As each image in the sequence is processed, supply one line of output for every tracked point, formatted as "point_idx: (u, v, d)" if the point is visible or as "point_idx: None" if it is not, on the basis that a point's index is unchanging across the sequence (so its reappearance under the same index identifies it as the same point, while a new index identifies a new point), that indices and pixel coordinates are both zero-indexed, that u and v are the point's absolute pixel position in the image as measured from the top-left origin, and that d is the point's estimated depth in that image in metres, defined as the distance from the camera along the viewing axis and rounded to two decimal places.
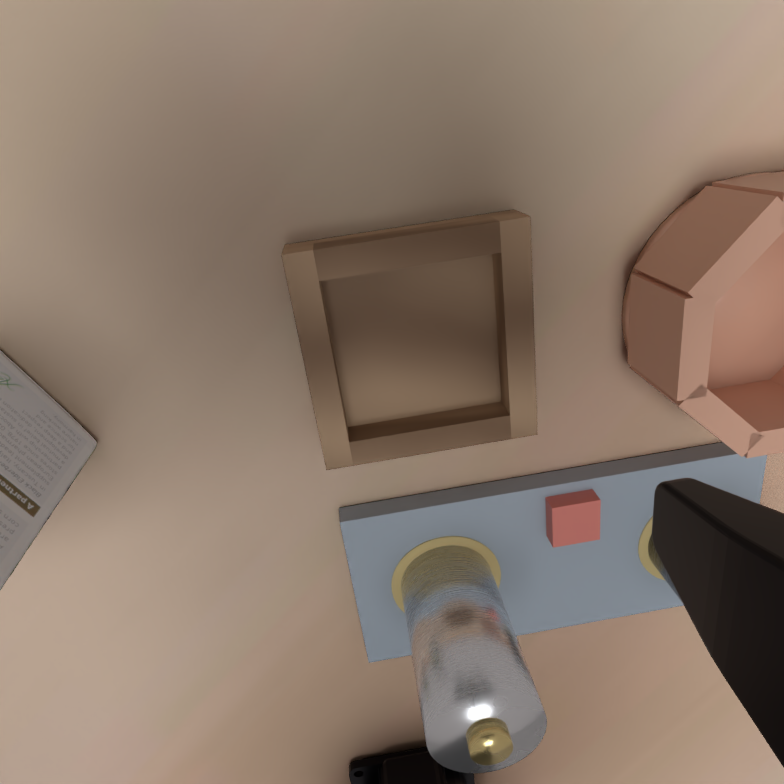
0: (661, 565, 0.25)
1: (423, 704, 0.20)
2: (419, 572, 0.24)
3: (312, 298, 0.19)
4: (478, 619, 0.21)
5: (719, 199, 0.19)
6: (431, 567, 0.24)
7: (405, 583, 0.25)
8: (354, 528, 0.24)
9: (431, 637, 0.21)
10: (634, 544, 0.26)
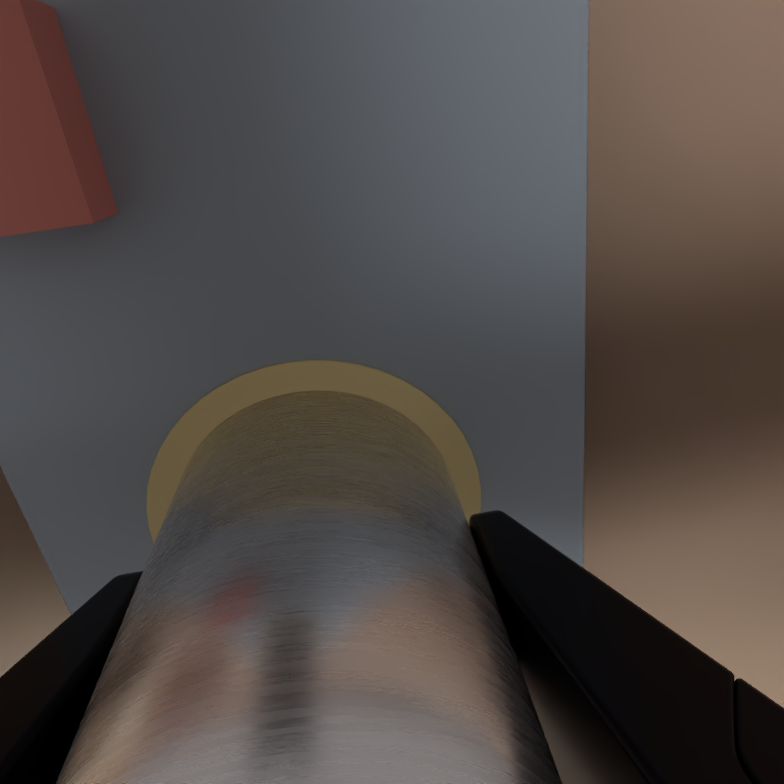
0: None
1: None
2: None
3: None
4: None
5: None
6: None
7: None
8: None
9: None
10: None
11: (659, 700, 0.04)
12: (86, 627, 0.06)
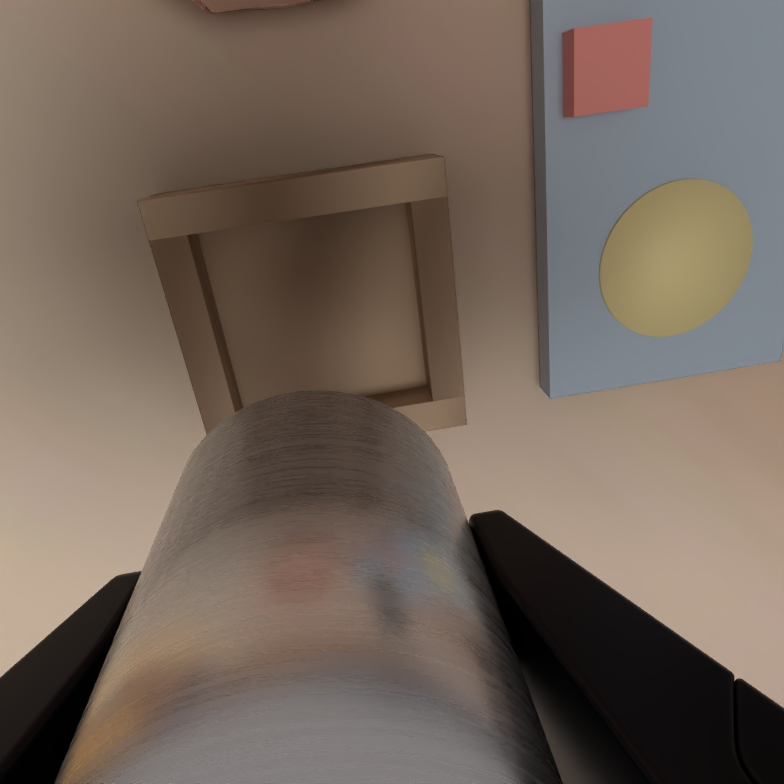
0: None
1: None
2: None
3: None
4: None
5: None
6: None
7: None
8: (562, 382, 0.19)
9: None
10: None
11: (659, 700, 0.04)
12: (86, 627, 0.06)
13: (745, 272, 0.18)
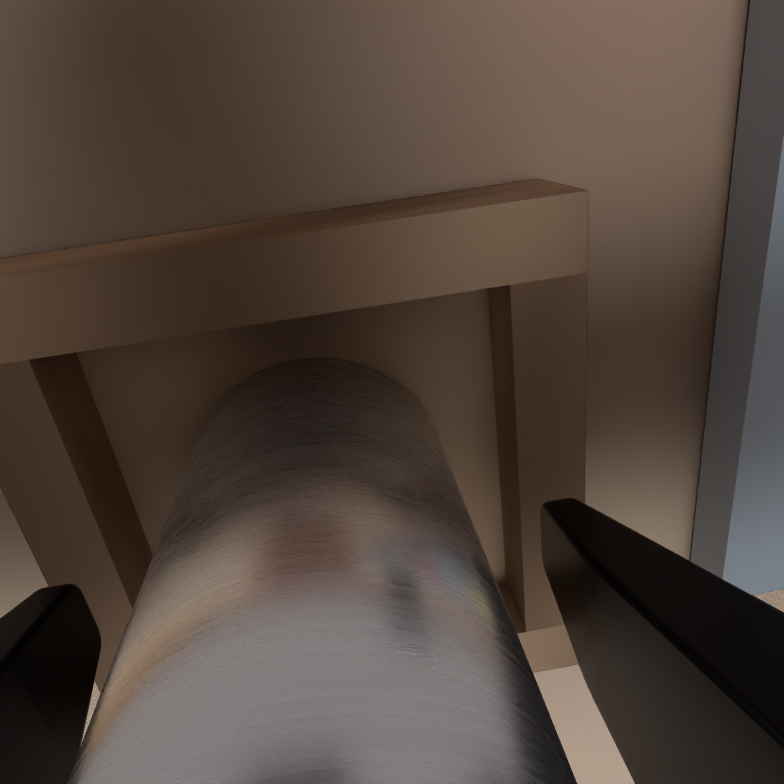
0: None
1: None
2: None
3: None
4: None
5: None
6: None
7: None
8: (744, 575, 0.11)
9: None
10: None
11: None
12: None
13: None
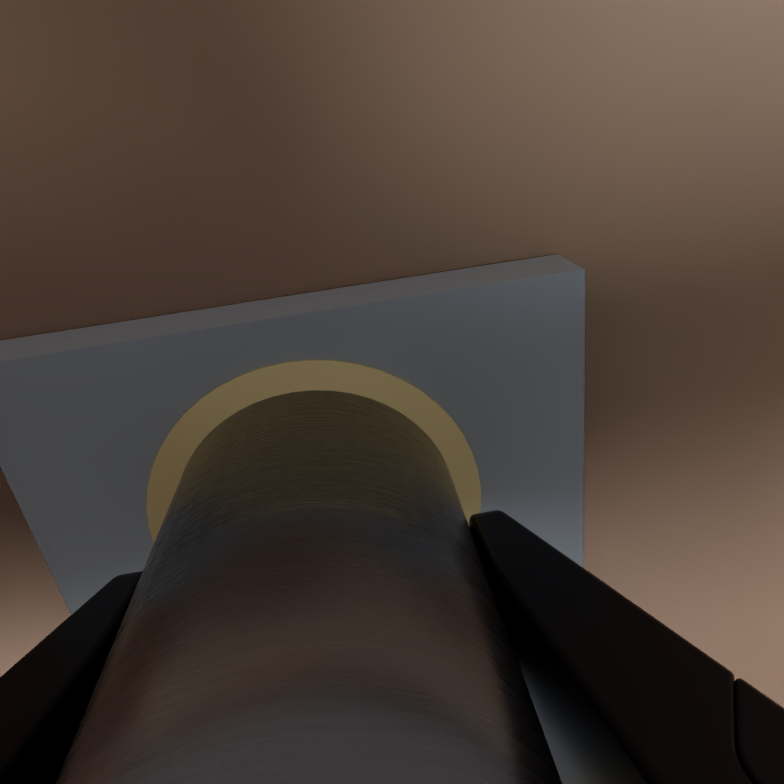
0: None
1: None
2: None
3: None
4: None
5: None
6: None
7: None
8: None
9: None
10: None
11: (659, 700, 0.04)
12: (86, 627, 0.06)
13: None
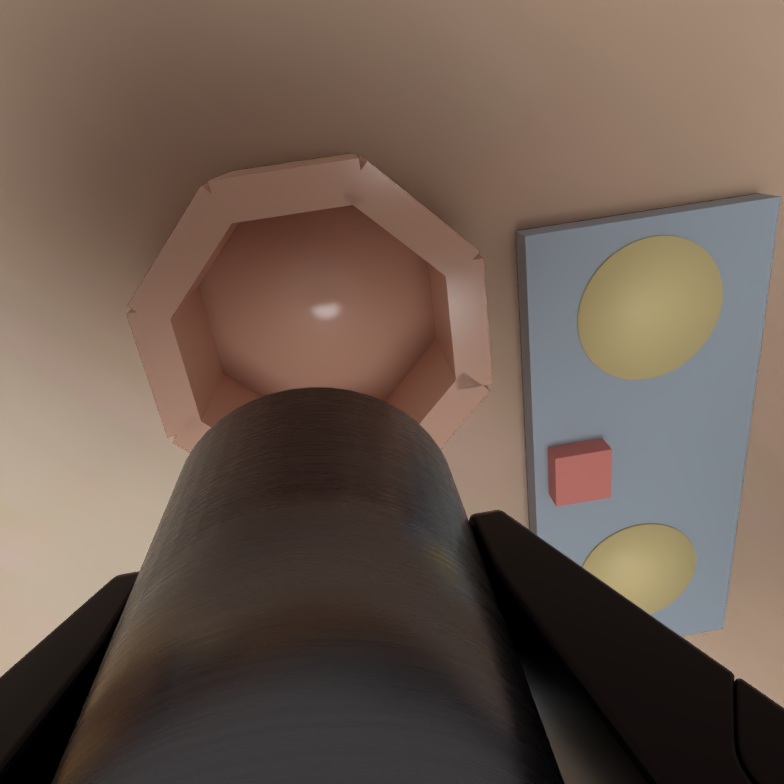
0: None
1: None
2: None
3: None
4: None
5: None
6: None
7: None
8: None
9: None
10: (640, 383, 0.20)
11: (659, 700, 0.04)
12: (86, 627, 0.06)
13: (691, 576, 0.24)
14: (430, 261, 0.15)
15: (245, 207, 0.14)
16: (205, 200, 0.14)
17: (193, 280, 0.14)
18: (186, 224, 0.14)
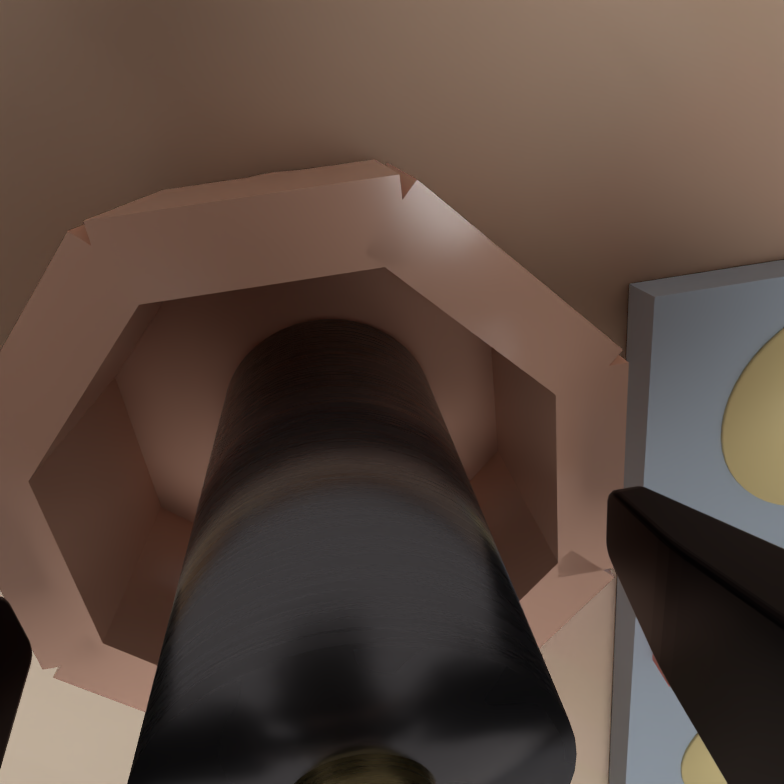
0: None
1: None
2: None
3: None
4: None
5: None
6: None
7: None
8: None
9: None
10: None
11: None
12: None
13: None
14: (529, 369, 0.08)
15: (165, 273, 0.07)
16: (80, 259, 0.07)
17: (68, 412, 0.07)
18: (44, 307, 0.07)
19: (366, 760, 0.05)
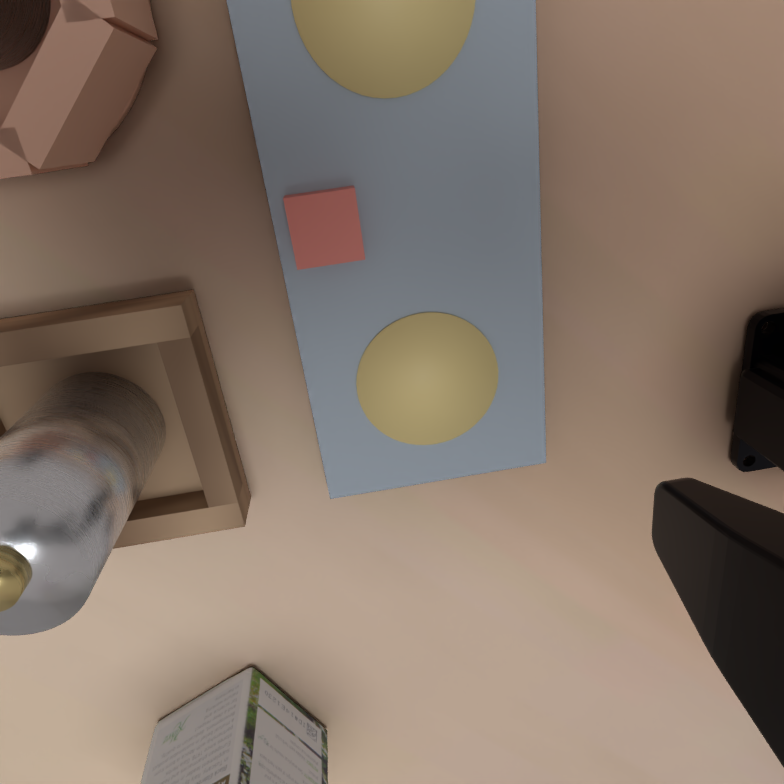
0: None
1: None
2: None
3: None
4: None
5: None
6: None
7: None
8: (339, 484, 0.21)
9: None
10: (389, 106, 0.16)
11: None
12: None
13: (496, 389, 0.20)
14: None
15: None
16: None
17: None
18: None
19: None
